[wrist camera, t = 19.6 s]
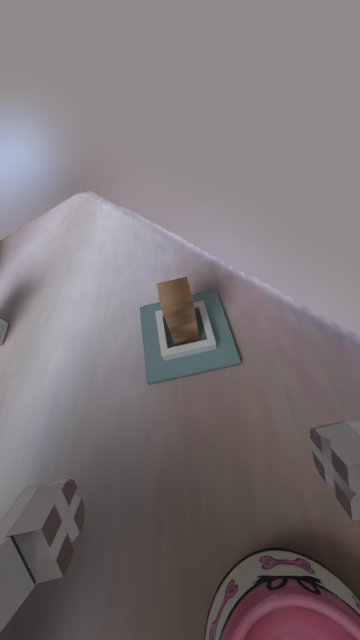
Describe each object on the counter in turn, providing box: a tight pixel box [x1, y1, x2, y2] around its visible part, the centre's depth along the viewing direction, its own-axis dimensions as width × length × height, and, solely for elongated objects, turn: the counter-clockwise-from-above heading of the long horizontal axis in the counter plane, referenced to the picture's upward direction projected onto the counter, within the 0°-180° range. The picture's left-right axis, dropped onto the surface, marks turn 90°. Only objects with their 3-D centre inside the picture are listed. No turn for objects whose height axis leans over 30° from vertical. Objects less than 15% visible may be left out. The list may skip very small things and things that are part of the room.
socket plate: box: [140, 290, 241, 385], centre depth 43 cm, size 16×16×3 cm
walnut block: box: [157, 277, 200, 345], centre depth 38 cm, size 4×4×12 cm
